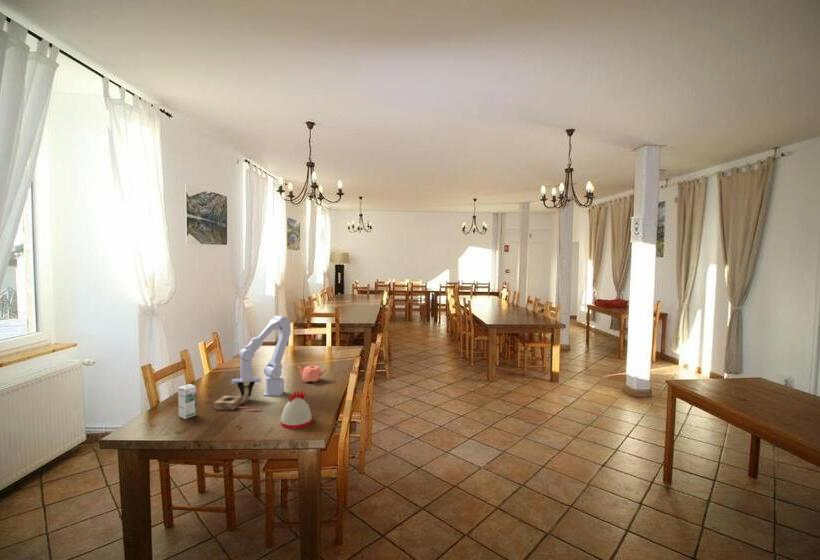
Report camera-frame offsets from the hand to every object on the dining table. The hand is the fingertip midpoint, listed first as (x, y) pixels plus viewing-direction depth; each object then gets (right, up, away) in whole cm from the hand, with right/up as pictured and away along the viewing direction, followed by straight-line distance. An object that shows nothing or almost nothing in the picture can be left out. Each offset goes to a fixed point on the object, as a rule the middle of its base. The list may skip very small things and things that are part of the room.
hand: (246, 395), depth 209 cm
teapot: (+26, -1, +34) cm, 43 cm away
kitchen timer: (+35, -5, -27) cm, 44 cm away
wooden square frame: (-5, -3, -9) cm, 10 cm away
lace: (+5, -3, -13) cm, 14 cm away
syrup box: (-19, -3, -22) cm, 29 cm away
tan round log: (0, -2, 0) cm, 2 cm away
